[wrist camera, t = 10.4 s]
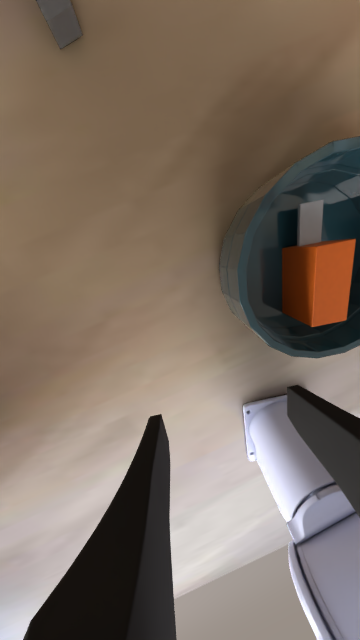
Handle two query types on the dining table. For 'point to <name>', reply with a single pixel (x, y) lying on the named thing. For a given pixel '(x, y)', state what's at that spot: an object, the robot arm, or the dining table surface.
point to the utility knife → (316, 272)
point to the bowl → (281, 231)
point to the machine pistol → (61, 20)
